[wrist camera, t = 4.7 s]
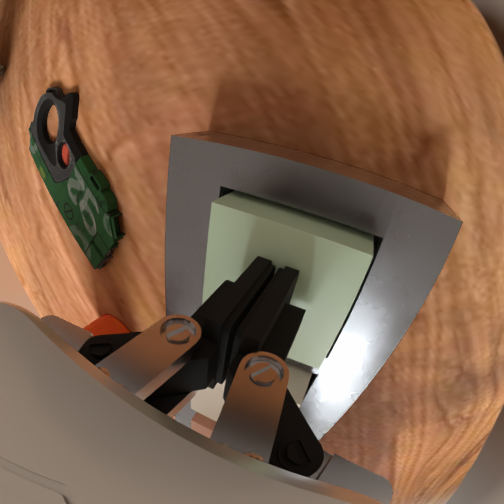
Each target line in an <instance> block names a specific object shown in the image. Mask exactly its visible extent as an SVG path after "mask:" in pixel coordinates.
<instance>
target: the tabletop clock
mask: <svg viewBox="0 0 504 504" xmlns="http://www.w3.org/2000/svg"><path fill="white" fill-rule="evenodd" d="M4 72H5V66H3V65H0V76H1V75H3V74H4Z"/></svg>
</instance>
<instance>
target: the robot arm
mask: <svg viewBox="0 0 504 504" xmlns="http://www.w3.org/2000/svg"><path fill="white" fill-rule="evenodd" d="M275 269H276V266H274V265H272V261H271V260H268V259H266V258H263V257H260V256H257V257H256V258H255V260H254V261H253V262H252V263H251V264H250V265H249V266H248V267H247V269H246V270H245V271H244V272H243V273H242V274H241V275H240V277H239V278H238V279H237V280H236V281H235V282H232V281H230V280H225V281H224V282H223V283H222V284H221V285H220V286H219V287H218V288H217V289H216V290H215V292H214V293H213V294H212V295H211V296H210V297H209V298H208V299H207V300H206V301H205V302H204V303H203V304H202V305H201V306H200V307H199V308H198V310H197V311H196V312H195V313H194V314H193V315H192V316H191V317H188V316H185V315H181V314H174V315H169V316H166V317H164V318H162V319H161V320H159V321H158V322H156V323H155V324H153V325H152V326H151V327H149V328H148V329H146V330H145V331H143V332H132V333H120V334H106V335H97V336H93V334H92V332H89V331H87V330H85V329H83V328H80V327H78V326H76V325H74V324H72V323H70V322H67V321H65V320H63V319H61V318H59V317H57V316H53V315H49V316H45V317H43V318H41V319H40V318H39V317H37V316H36V315H34V314H33V313H32V312H30V311H29V310H27V309H25V308H23V307H21V306H18V305H15V304H12V303H9V302H2V301H1V302H0V504H389V503H390V500H391V498H392V494H393V491H392V486H391V484H390V482H389V481H388V480H387V479H385V478H384V477H382V476H380V475H378V474H375V473H373V472H371V471H369V470H367V469H364V468H362V467H360V466H358V465H356V464H354V463H352V462H350V461H348V460H346V459H344V458H342V457H340V456H338V455H336V454H334V455H331V454H329V453H327V452H325V451H323V449H322V446H321V444H320V443H319V441H318V439H317V438H316V436H315V434H314V433H313V431H312V429H311V428H310V426H309V424H308V422H307V421H306V419H305V417H304V416H303V414H302V412H301V411H300V409H299V407H298V405H297V404H296V402H295V400H294V398H293V397H292V395H291V393H290V392H289V390H288V388H287V385H288V380H289V369H288V367H287V365H286V363H285V360H286V358H287V356H288V353H289V351H290V349H291V347H292V344H293V342H294V340H295V337H296V335H297V332H298V330H299V327H300V325H301V322H302V320H303V317H304V314H305V312H306V310H305V309H302V308H299V307H297V306H294V305H291V304H290V301H291V298H292V295H293V292H294V289H295V286H296V282H297V279H298V276H299V272H300V271H299V270H296V269H293V268H291V267H288V266H285V268H284V269H282V268H279V269H278V270H277V272H276V273H275ZM274 273H275V275H274ZM225 380H226V382H225V388H224V393H223V399H224V405H223V407H222V410H221V412H220V415H219V417H218V420H217V422H216V424H215V427H214V429H213V432H212V434H211V437H210V438H208V437H206V436H204V435H202V434H200V433H198V432H196V431H194V430H192V429H190V428H188V427H187V426H185V425H183V424H181V423H179V422H178V421H176V420H174V419H172V417H174V416H175V415H176V414H177V413H178V412H179V411H180V410H181V409H182V408H183V407H184V406H185V405H186V404H187V403H188V402H189V401H190V400H191V399H192V398H193V397H194V396H195V395H196V394H197V392H198V390H203V389H206V388H207V387H209V388H211V389H214V387H215V386H216V384H217V383H219V384H223V383H224V381H225Z"/></svg>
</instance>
